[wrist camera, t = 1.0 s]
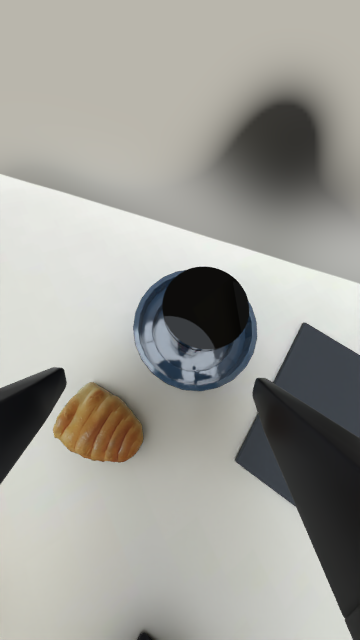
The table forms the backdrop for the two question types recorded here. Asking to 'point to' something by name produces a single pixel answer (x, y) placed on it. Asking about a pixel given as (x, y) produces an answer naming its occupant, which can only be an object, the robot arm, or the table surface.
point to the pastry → (99, 426)
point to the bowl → (179, 366)
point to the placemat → (308, 398)
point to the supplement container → (204, 310)
